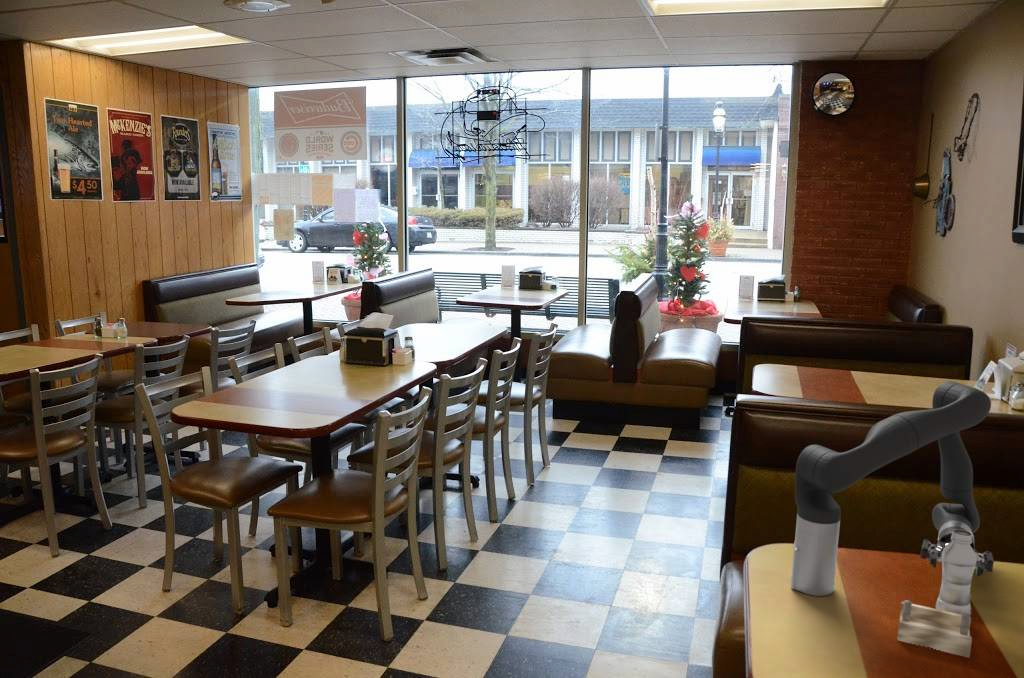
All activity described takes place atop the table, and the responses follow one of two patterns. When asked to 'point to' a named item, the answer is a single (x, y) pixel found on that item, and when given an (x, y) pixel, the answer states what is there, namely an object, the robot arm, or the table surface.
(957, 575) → the plastic bottle
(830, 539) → the robot arm
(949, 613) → the caddy
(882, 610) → the table surface
